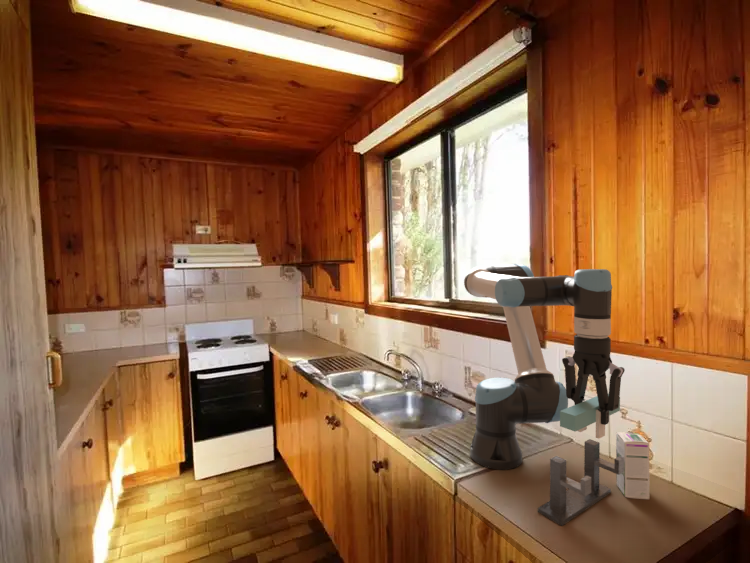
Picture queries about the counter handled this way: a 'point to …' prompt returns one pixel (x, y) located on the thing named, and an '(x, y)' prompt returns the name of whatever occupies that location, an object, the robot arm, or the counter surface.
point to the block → (581, 414)
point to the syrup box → (633, 465)
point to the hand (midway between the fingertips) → (591, 433)
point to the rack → (577, 485)
